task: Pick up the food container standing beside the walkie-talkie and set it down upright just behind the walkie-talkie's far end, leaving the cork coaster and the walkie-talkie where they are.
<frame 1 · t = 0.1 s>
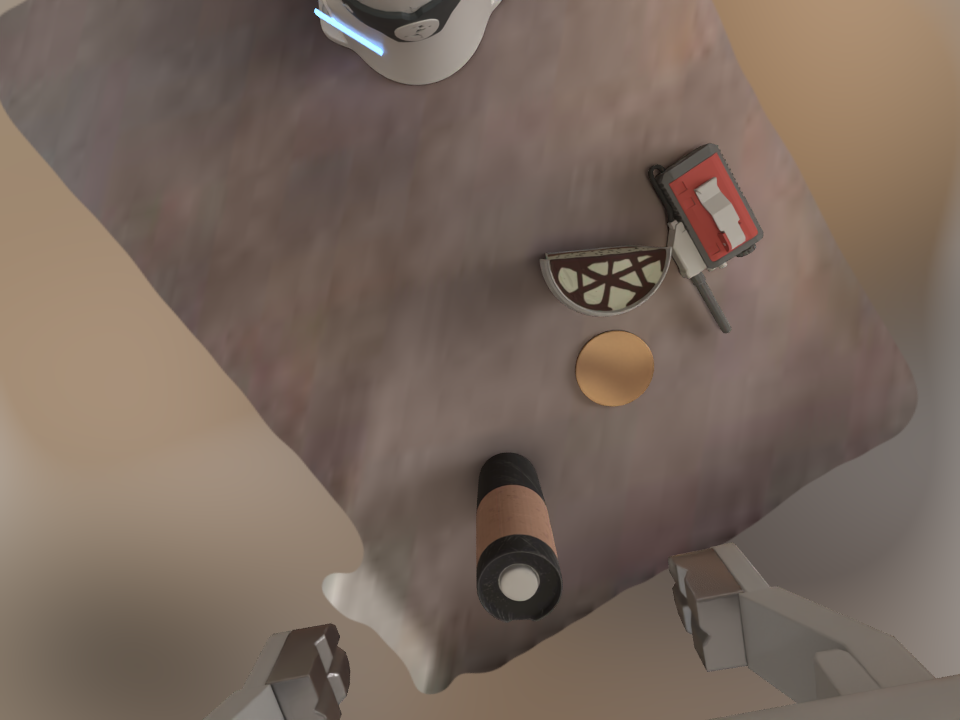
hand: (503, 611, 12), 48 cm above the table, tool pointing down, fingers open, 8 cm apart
food container: (588, 277, 58), on the table
walkie-talkie: (706, 238, 57), on the table
cork coaster: (613, 368, 61), on the table
travel mug: (507, 478, 64), on the table
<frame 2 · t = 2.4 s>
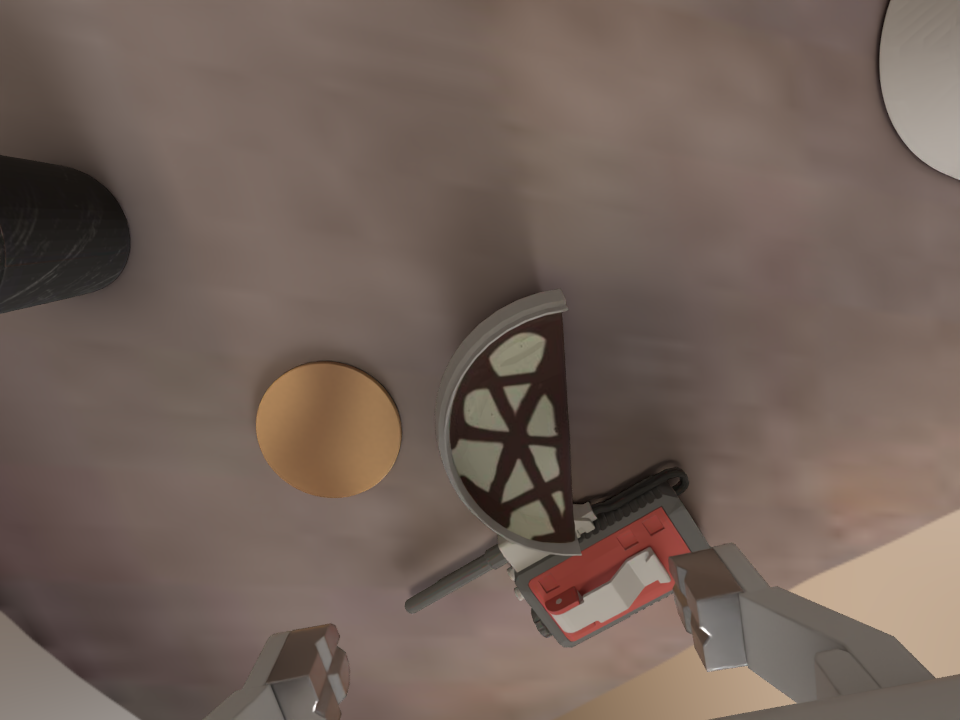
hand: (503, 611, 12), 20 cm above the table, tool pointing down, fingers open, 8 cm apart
food container: (497, 376, 32), on the table
walkie-talkie: (558, 557, 35), on the table
cork coaster: (330, 430, 33), on the table
travel mug: (71, 231, 30), on the table
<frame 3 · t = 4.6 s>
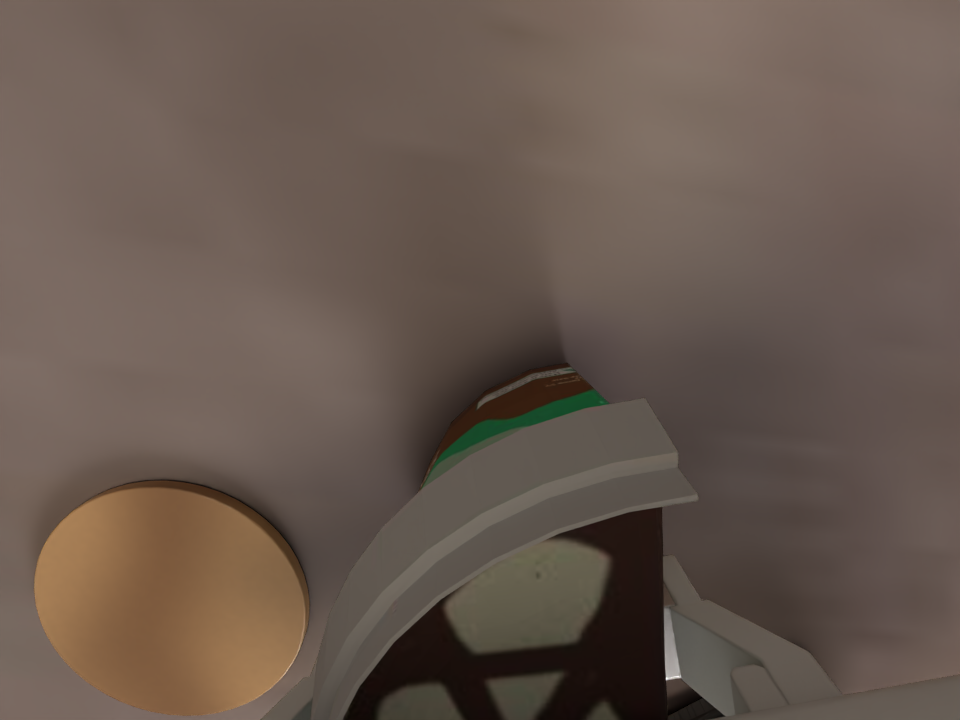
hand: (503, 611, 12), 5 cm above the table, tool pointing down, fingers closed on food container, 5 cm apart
food container: (482, 504, 17), on the table, touching gripper
cork coaster: (179, 598, 18), on the table
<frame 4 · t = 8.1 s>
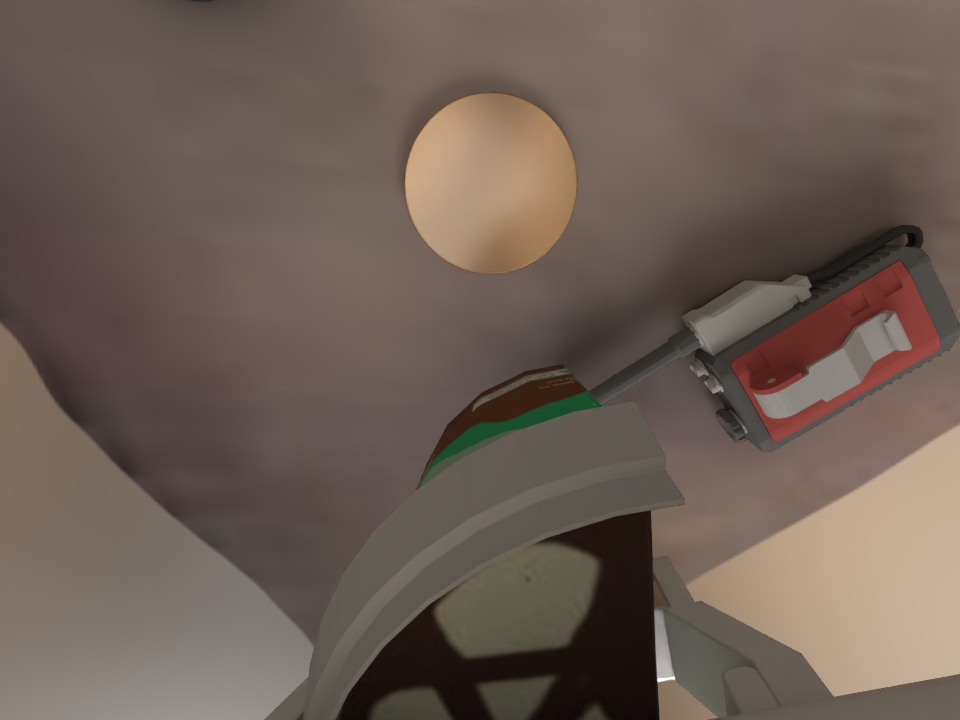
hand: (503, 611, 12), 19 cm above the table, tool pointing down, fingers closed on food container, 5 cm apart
food container: (479, 506, 17), point 13 cm above the table, touching gripper
walkie-talkie: (743, 357, 30), on the table
cork coaster: (490, 187, 28), on the table
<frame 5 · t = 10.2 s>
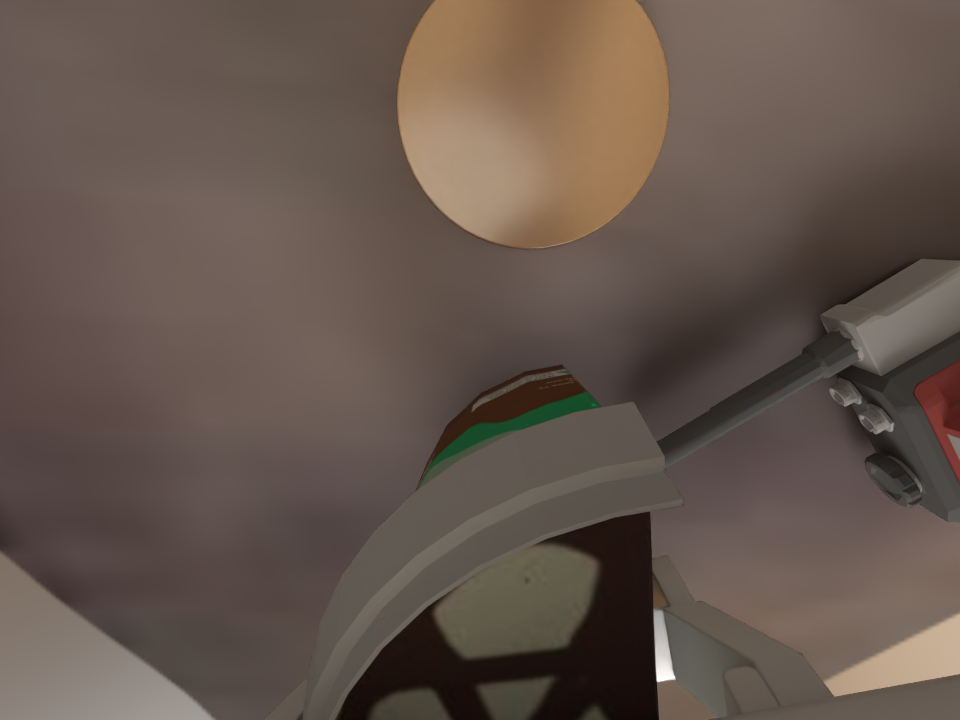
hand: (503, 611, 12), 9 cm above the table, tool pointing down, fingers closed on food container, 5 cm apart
food container: (479, 506, 17), point 3 cm above the table, touching gripper
walkie-talkie: (905, 375, 20), on the table
cork coaster: (531, 112, 18), on the table
when the fingers open (5 cm above the table, at t = 11.7 s): food container stays where it is, on the table.
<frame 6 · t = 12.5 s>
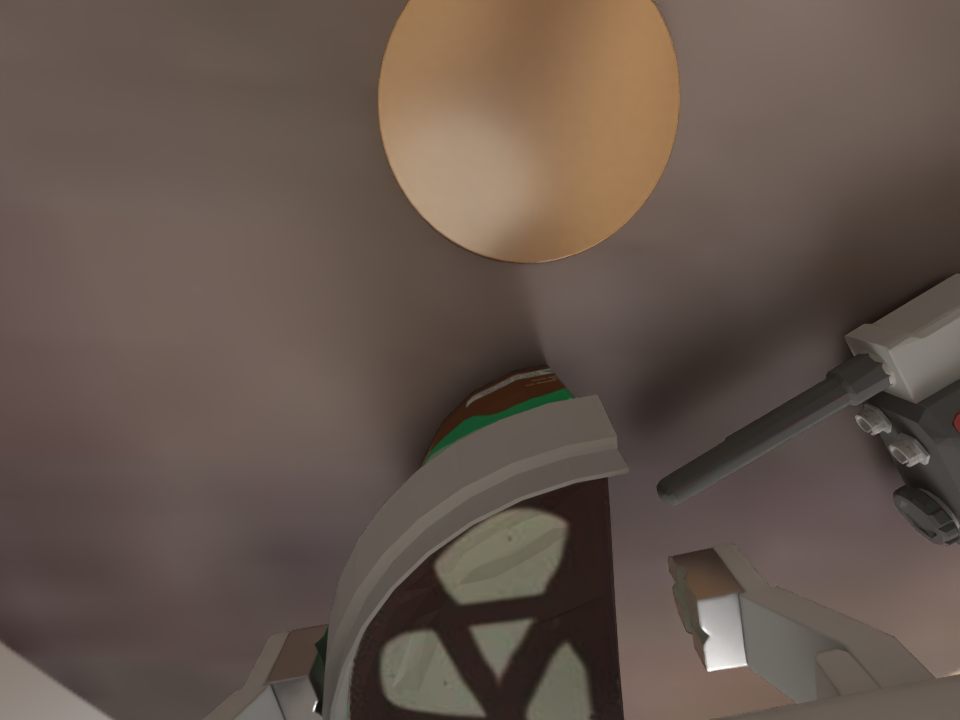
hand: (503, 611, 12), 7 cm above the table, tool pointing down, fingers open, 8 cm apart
food container: (473, 494, 19), on the table
walkie-talkie: (935, 399, 19), on the table
cork coaster: (527, 113, 16), on the table
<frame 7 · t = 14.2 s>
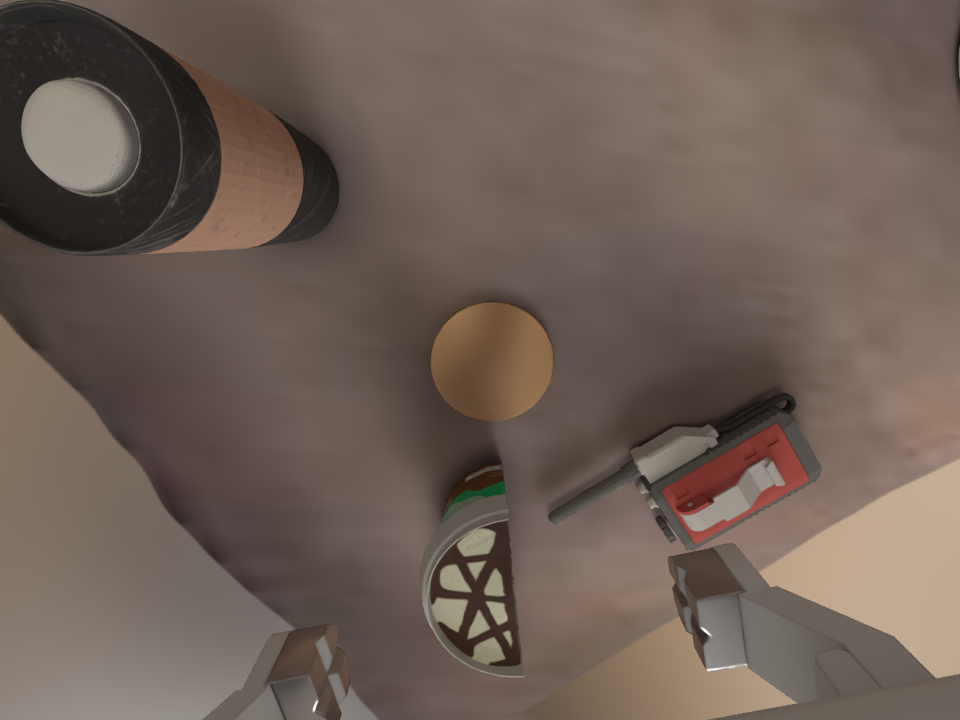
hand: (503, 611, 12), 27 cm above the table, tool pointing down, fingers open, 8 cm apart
food container: (468, 517, 42), on the table
walkie-talkie: (676, 477, 41), on the table
cork coaster: (491, 361, 39), on the table
travel mug: (288, 187, 36), on the table
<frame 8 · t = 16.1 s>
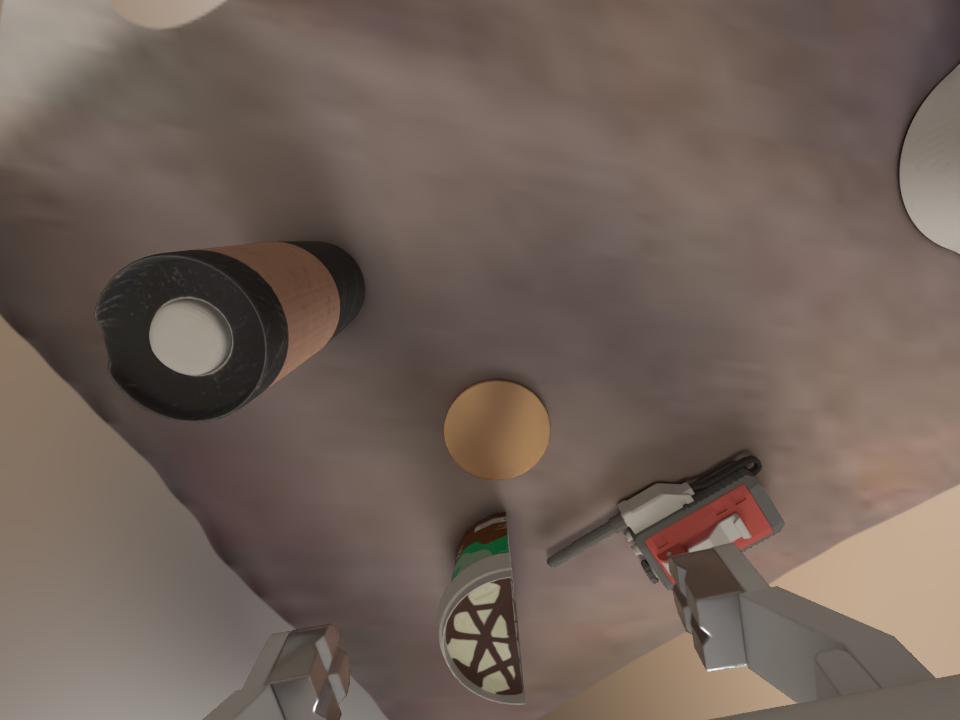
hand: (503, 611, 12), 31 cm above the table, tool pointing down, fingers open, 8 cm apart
food container: (477, 559, 48), on the table
walkie-talkie: (659, 525, 47), on the table
cork coaster: (496, 429, 45), on the table
travel mug: (321, 287, 42), on the table
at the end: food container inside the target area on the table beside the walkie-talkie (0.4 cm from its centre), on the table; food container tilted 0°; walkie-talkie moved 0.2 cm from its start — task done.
